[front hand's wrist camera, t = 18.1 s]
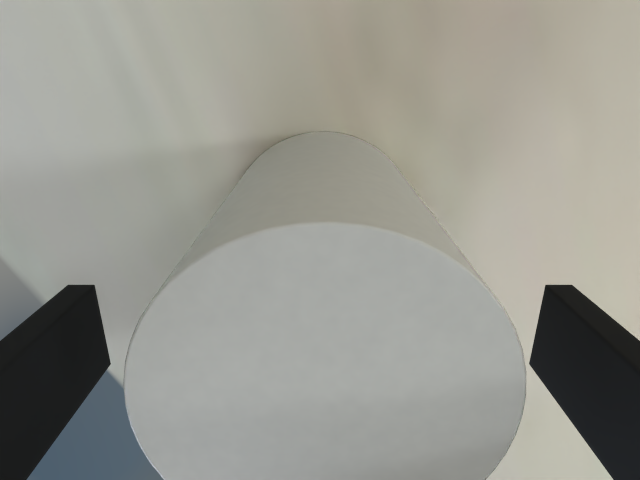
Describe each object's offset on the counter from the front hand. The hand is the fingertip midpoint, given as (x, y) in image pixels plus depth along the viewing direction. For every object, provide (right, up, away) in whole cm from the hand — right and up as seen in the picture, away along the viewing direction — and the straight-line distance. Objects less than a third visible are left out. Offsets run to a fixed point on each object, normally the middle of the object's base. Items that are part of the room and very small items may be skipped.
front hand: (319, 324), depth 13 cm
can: (0, +3, +8) cm, 8 cm away
